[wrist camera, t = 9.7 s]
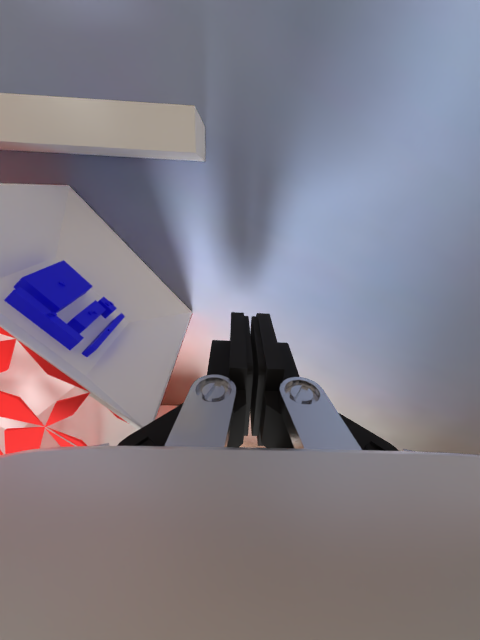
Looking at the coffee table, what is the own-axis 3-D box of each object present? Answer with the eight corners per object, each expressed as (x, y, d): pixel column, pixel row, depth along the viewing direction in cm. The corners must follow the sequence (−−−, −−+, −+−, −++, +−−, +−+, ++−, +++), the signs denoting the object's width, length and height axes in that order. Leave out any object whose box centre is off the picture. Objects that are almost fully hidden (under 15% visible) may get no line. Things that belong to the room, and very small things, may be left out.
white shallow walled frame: (204, 127, 10) (194, 105, 8) (207, 419, 18) (203, 459, 15) (-194, 102, 10) (-353, 69, 7) (-21, 414, 17) (-68, 455, 15)
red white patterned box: (-25, 290, 13) (-311, 403, 6) (68, 184, 11) (-208, 177, 4) (101, 384, 16) (-1, 532, 9) (193, 313, 14) (152, 436, 7)
